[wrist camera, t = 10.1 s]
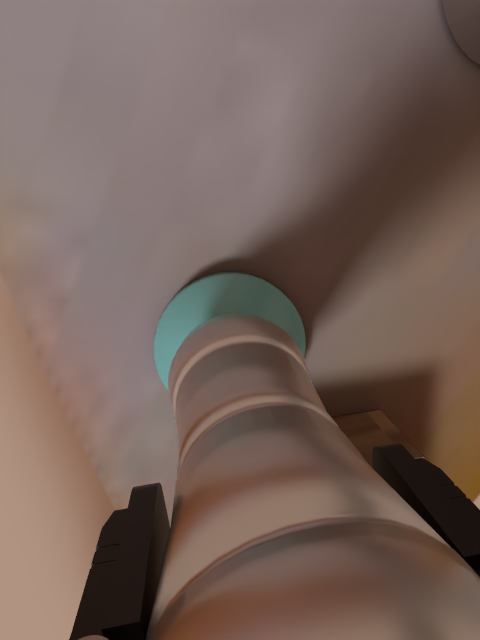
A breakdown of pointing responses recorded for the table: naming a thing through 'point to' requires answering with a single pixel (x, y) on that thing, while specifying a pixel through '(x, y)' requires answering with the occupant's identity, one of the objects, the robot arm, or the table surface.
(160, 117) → the table surface
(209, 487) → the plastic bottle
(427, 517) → the robot arm
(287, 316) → the teal coaster
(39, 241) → the table surface
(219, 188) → the table surface
